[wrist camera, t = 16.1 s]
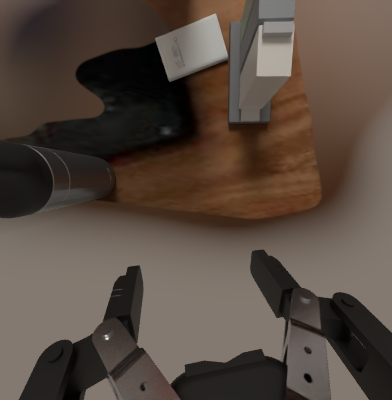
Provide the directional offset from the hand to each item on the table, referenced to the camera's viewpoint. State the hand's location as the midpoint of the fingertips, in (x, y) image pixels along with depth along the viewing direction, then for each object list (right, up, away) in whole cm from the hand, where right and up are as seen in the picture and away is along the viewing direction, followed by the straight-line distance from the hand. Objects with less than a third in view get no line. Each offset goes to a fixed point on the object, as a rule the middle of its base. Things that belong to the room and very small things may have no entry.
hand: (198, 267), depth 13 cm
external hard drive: (-1, +35, +25) cm, 43 cm away
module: (+10, +25, +23) cm, 36 cm away
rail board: (+11, +29, +24) cm, 40 cm away
